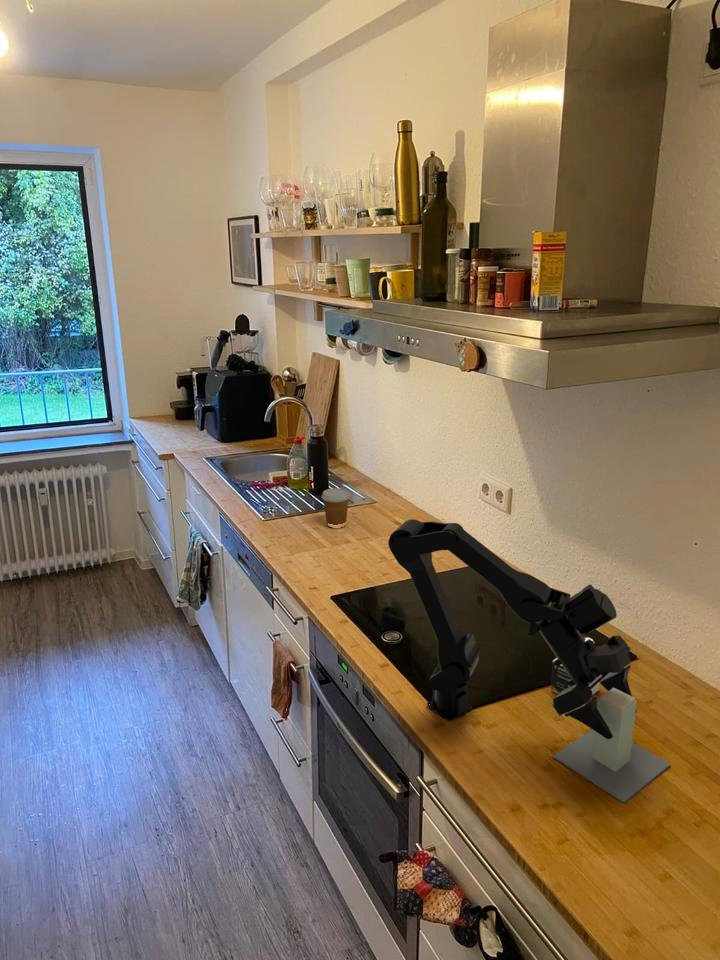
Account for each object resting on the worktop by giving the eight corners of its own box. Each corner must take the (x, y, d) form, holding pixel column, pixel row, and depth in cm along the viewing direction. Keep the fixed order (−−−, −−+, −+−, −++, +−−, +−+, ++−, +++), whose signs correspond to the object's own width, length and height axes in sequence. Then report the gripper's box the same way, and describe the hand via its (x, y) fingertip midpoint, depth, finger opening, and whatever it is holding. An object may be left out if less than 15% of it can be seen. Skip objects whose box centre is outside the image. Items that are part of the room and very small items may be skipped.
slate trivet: (553, 757, 123) (553, 755, 123) (599, 726, 131) (600, 724, 131) (624, 803, 112) (624, 801, 112) (670, 765, 120) (670, 763, 120)
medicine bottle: (550, 690, 142) (553, 638, 138) (567, 676, 147) (571, 626, 143) (582, 705, 137) (586, 652, 133) (599, 690, 142) (604, 638, 138)
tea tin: (592, 758, 122) (598, 696, 118) (606, 747, 124) (613, 686, 121) (615, 772, 118) (622, 708, 115) (630, 760, 121) (636, 698, 117)
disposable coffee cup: (316, 527, 234) (315, 493, 231) (334, 518, 242) (333, 486, 238) (338, 532, 229) (337, 498, 225) (356, 524, 236) (355, 490, 233)
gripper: (574, 648, 110) (635, 738, 106) (625, 608, 123) (682, 686, 119) (528, 673, 118) (583, 757, 114) (581, 632, 131) (632, 706, 126)
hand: (622, 725), depth 118 cm, fingers open, 9 cm apart
